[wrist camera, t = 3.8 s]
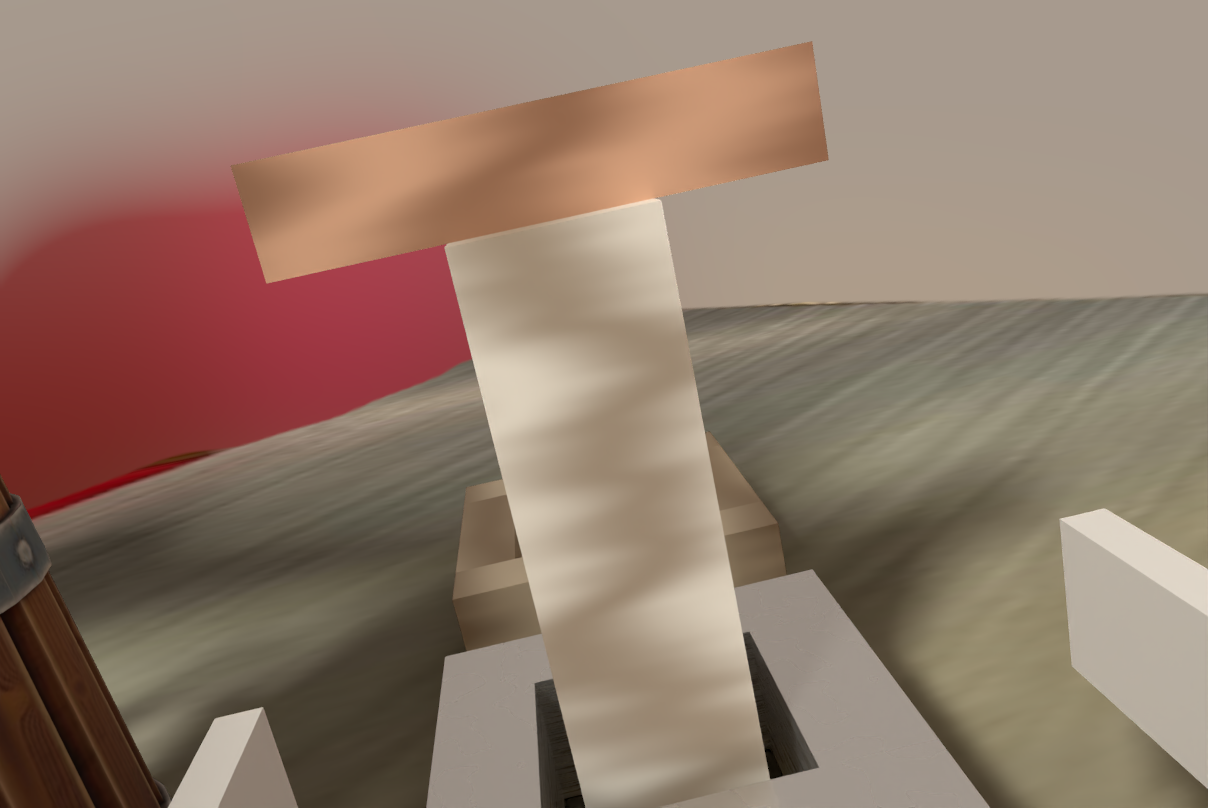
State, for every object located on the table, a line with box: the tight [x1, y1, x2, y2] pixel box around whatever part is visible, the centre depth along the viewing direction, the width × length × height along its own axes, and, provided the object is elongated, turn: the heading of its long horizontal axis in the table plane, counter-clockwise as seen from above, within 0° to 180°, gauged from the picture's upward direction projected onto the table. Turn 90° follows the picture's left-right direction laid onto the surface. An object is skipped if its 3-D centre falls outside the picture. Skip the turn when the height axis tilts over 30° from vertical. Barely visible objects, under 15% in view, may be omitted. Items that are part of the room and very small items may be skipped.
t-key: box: [231, 42, 828, 808], centre depth 23 cm, size 12×4×19 cm, turn 96°
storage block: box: [452, 431, 787, 651], centre depth 40 cm, size 12×12×4 cm
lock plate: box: [426, 569, 990, 808], centre depth 25 cm, size 12×12×4 cm
